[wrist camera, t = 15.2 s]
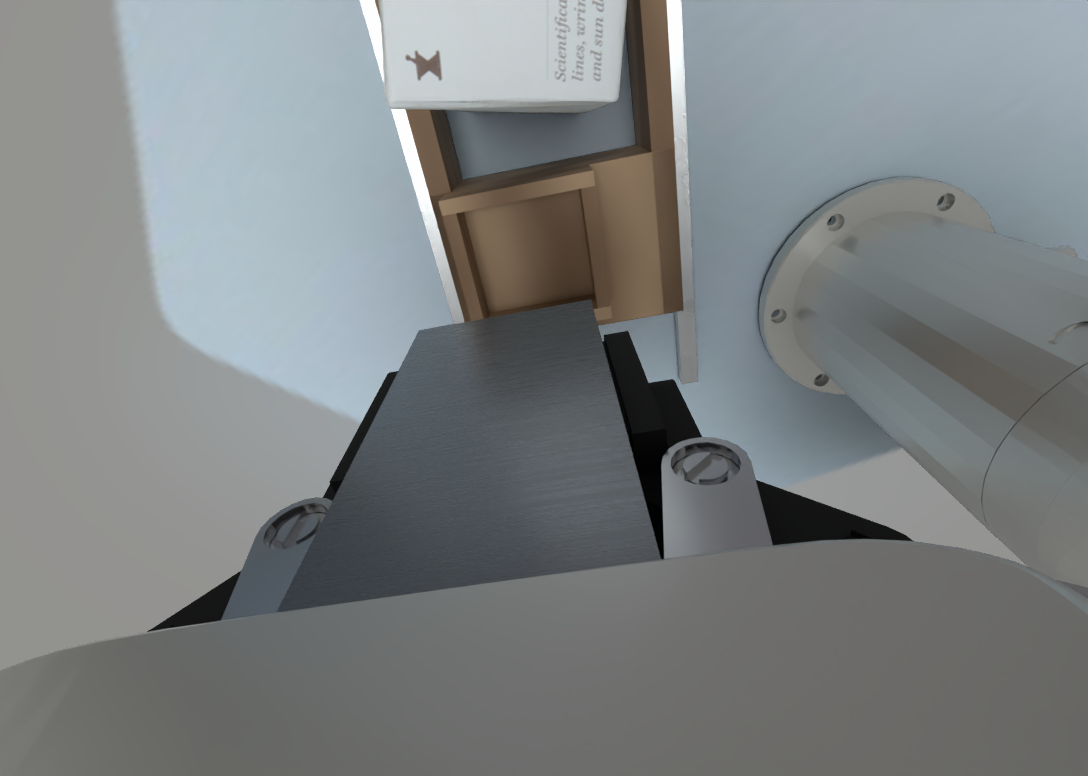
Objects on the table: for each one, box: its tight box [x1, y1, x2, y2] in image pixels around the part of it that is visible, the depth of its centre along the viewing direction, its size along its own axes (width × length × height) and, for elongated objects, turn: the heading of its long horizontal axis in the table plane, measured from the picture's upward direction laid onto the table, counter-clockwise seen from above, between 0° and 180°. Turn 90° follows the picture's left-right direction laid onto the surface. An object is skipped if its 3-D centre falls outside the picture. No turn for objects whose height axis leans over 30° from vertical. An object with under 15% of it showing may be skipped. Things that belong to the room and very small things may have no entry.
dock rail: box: [360, 0, 698, 384], centre depth 26 cm, size 14×26×3 cm, turn 11°
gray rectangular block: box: [276, 299, 661, 613], centre depth 9 cm, size 4×4×8 cm
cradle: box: [375, 0, 684, 325], centre depth 23 cm, size 11×18×6 cm, turn 11°
